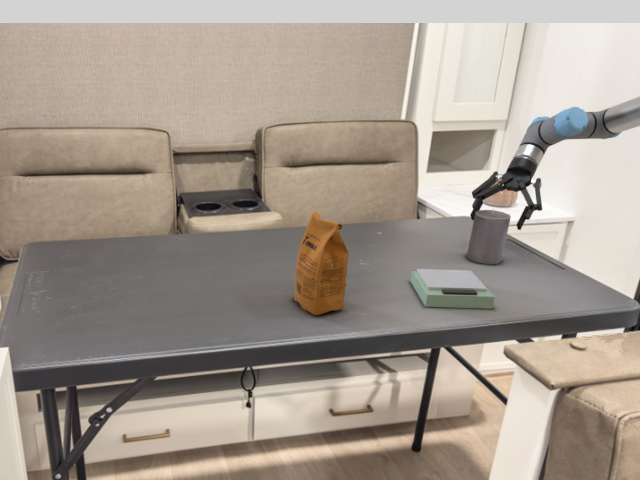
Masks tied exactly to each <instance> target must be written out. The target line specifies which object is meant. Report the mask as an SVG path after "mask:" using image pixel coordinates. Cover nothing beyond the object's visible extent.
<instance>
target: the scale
mask: <svg viewBox="0 0 640 480" xmlns="http://www.w3.org/2000/svg"><path fill="white" fill-rule="evenodd" d="M410 283H411V285H412V287H413V288H414V290H415V292H416V294H417V295H418V297H419V298H420V300H421V302H422V304H423V305H424V307H426V308H453V309H455V308H456V309H488V310H491V309H492V310H493V307H494V303H495V297H496V296H495V295H494V294H493V293H492V292H491V291H490V290H489V288H488V287H487V286H486V285H485V284H484V282H482V281H481V279H480V278H479V277H478V276H477V275H476V273H474V272H473V270H471V269H470V270H467V269H438V268H437V269H433V268H431V269H430V268H416V270H411V277H410Z"/></svg>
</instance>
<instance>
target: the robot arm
mask: <svg viewBox="0 0 640 480" xmlns="http://www.w3.org/2000/svg"><path fill="white" fill-rule="evenodd" d="M637 127H638V128H639V127H640V96H637V97H634V98H632V99H629V100H626V101H624V102H620V103H618V104H616V105H613V106H611V107H608V108H605V109H603V110H599V111H585V110H584V109H583V108H582V109H581V108H580V107H579V106H572V107H569V108H567V109H562V111H559V112H558V113H556V114H555V115H553V116H551V117H549V116H545V115H544V116H537V117H535V118H534V119H533V120H532V121H531V123H530V125H529V126H528V127H527V129H526V131H525V133H524V135H523V138H522V140H521V141H520V144H519V146H518V148H517V150H516V151H515V153H514V156H513V157H512V160H511V161H510V163H509V165H508V166H507V169H506V171H505V172H504V173H503V174H502V173H499V172H498V171H497V170H496V171H495V170H494V171H493V173H492V174H491V175H490V177H489V178H487V179H486V180H485V181H484V182H483V183H481V184H480V185H479V186H477V187H476V188H474V189H473V190H472V191H471V195H472V198H473V199H474V201H473V203H472V205H471V207H472V210H471V213H470V219H471V221H474V217H475V212H476V211H479V210H481V208H482V206H483V205H484V200H486V199H488V198H490V197H492V196H494V195H496V194H497V193H500V192H503V191H505V190H506V191H509V192H510V191H511V192H515V193H518V192H521V194H522V196H523V198H524V200H525V202H526V204H527V205H525V206H524V209H523V210H522V213H521V214H520V217H519V219H518V221H517V222H516V228H517V230H518V231H521V230H522V228H523V226H524V224H525V222H526V220H527V221H529V220H530V219H531V217H532V215H533V213H534V212H536V211H539V212H541V211H543V204H542V196H541V195H542V194H541V188H542V185H543V183H542V179H541V178H540V177H537V178H536V179H533V178H534V176H535V174H536V172H537V169H538V168H539V165H540V164H541V161H542V160H543V158H544V156H545V154H546V152H547V151H548V148H549V147H551V146H554V145H555V144H558V143H560V142H562V141H563V142H564V141H567V140H594V139H595V140H606V139H607V140H608V139H613V138H617V137H618V136H619V135H620V134H622V133H623V132H625V131H628V130H631V129H632V130H633V129H635V128H637ZM531 185H532V188H534V193H535V200H536V203H535V202H534V201H533V199H532V197H531V194H530V193H529V191H528V189H527V188H528V187H529V186H531Z"/></svg>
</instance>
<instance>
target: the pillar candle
mask: <svg viewBox="0 0 640 480" xmlns="http://www.w3.org/2000/svg"><path fill="white" fill-rule="evenodd" d="M511 217H512V216H511V214H509V213H506V212H503V211H499V210H495V209H480V210H479V211H476V212H475V217H474V220H473V222H472V227H471V228H472V229H471V233H470V239H469V244H468V248H467V254H466V258H467V259H468V260H470V261H471V262H474V263H478V264H483V265H498V264H500V263H501V262H502V260H503V255H504V250H505V246H506V241H507V236H508V231H509V226H510V222H511Z"/></svg>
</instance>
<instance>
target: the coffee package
mask: <svg viewBox="0 0 640 480" xmlns="http://www.w3.org/2000/svg"><path fill="white" fill-rule="evenodd" d="M342 229H343V225H342V224H341V223H339V222H335V221H329V220H325V219H324V220H323V219H322V217H321V215H320V213H318V212H317V211H313V212H312V214H311V217H310V220H309V221H308V223H307V226H306V229H305V232H304V234H303V236H302V239H301V242H300V244H299V249H298V254H297V255H298V256H297V260H296V265H295V266H296V267H295V272H294V274H295V275H294V276H295V278H294V280H295V282H294V283H295V284H294V301H295V302H296V303H299V305H300V306H301V308H302V310H304V311H305V312H307V313H310V314H312V315H313V316H321V315H323V314H326V313H329V312H333V311H340V310H342V309H344V303H345V296H346V295H345V294H346V288H347V275H348V263H349V255H350V253H349V251H348V247H347V245H346V244H345V241H344V239H343V238H342V234H341V232H340V230H342Z"/></svg>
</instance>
